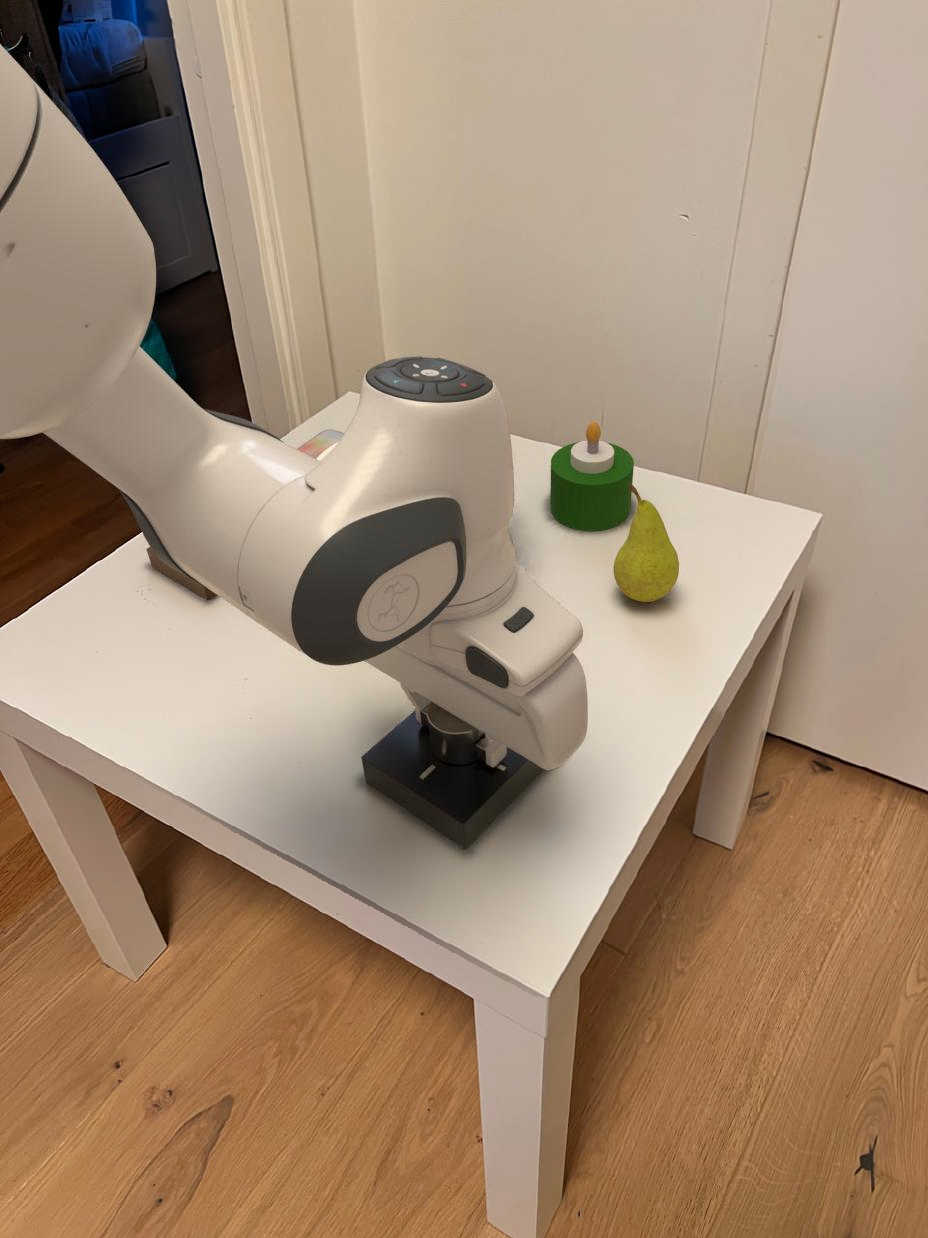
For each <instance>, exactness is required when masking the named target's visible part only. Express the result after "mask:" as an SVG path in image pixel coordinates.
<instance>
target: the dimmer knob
mask: <svg viewBox="0 0 928 1238" xmlns="http://www.w3.org/2000/svg"><path fill="white" fill-rule="evenodd" d="M427 720H428V729H429V738H430V746H431V750H432V752H433V754H434V755H435V756H436V757H437V758H438V759H439V760H441V761H443V762H445V763H448V764H451V765H465V764H469V763H472V762H475V761H476V760H478V758H477V757H476V754H477V752H476V744H477V743H478V742H479V741H480V740H481V739H484V738H485V733H483V732H482V731H480V730H478V729H477V728H475V727H473V726H472V725H470V724H468V723H467V722H465V721H463V720H462V719H460V718H458V717H457V716H455V715H453V714H452V713H450V712H448V711H447V710H445V709H443V708H442V707H440V706H438V705H437V704H435V703H433V702H432V701H431V702H430V704H429V706H428V709H427Z"/></svg>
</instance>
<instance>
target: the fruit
mask: <svg viewBox="0 0 928 1238" xmlns="http://www.w3.org/2000/svg"><path fill="white" fill-rule="evenodd" d="M628 488H629V489H630V490H631V491H632V494H634V495H635V497H636V499H637V505H636V513H635V514H634V516H633V518H632V520H631V523H630V526H629V531H628V535H627V537H626V540H625V541H624V543H623V544H622V545H621V547H620V548H619V549H618V551H617V553H616V555H615V558H614V563H613V577H614V581H615V583H616V585H617V587H618V589H619V590H620V591H621V592H622V593H623V594H624V595H625V596H626V597H628V598H629V599H631V600H634V601H637V602H640V603H641V602H642V603H651V602H655V601H657V600H660V599H662V598H663V597H665V596H666V595H667V594H668V593H669V592H670V591H671V590H672V589H673V587H674V586H675V585H676V583H677V582H678V581H677V580H678V577H679V574H680V561H679V555H678V552H677V550H676V548H675V547H674V545H673V544H672V542H671V539H670V537H669V534H668V531H667V529H666V526H665V524H664V521H663V519H662V517H661V515H660V512H659V511H658V509H657V508H656V506H655V505H654V504H653V503H652V502H651V501H648V500H646V499H642V497H641V496H640V494H639V492H638V489H637V488H636V487H635V486H634V485H633V483H632V484H630V485H629V487H628Z"/></svg>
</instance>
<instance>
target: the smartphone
mask: <svg viewBox="0 0 928 1238" xmlns="http://www.w3.org/2000/svg"><path fill="white" fill-rule="evenodd" d="M344 433H345V432H342V431H339V430H335V429H330V428H329V429H325V430H323V431H321V432H320V433H318V434H316V435H315V436H314V437H312V438H310V439H309V440H307V441H306V442H304V444H302V445H300V446H299V447H298V448H296V449H297V450H299V451H301V452H303V453H305V454H307V455H309V456H311V457H313V458H315V459H317V458H318V457H319V456H320V455H321V454H322V453H323V452H324V451H325V450H327V449H328V448H330V447H331V446H333V445H334V444H336V443H337V442H339V440H340V439H341V438H342V436H343V435H344Z"/></svg>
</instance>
